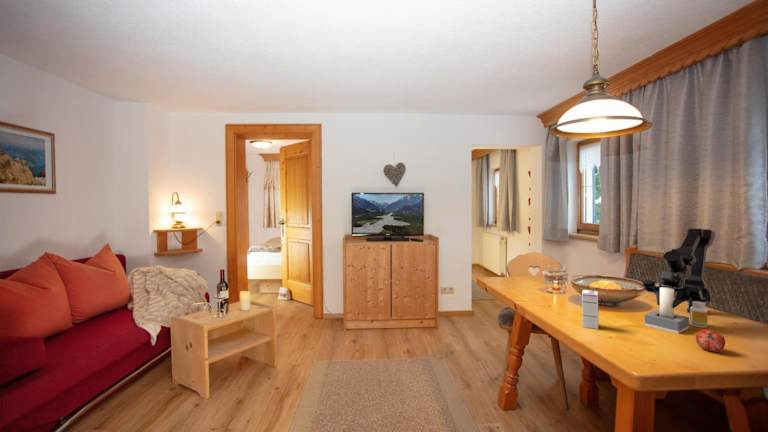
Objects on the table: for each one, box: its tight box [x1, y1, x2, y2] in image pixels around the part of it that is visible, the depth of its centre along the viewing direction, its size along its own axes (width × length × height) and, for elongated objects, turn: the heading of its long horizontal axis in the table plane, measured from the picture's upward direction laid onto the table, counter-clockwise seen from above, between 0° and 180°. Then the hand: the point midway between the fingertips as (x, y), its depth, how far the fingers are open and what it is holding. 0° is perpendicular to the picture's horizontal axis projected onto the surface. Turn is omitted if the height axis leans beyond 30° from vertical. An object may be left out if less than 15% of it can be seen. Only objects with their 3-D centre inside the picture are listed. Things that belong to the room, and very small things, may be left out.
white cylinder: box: [658, 287, 675, 319], centre depth 139 cm, size 5×5×14 cm
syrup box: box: [581, 289, 600, 330], centre depth 140 cm, size 6×6×14 cm
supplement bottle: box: [689, 301, 709, 329], centre depth 140 cm, size 5×5×10 cm
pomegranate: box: [695, 328, 726, 353], centre depth 117 cm, size 7×7×10 cm
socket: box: [644, 309, 690, 334], centre depth 139 cm, size 11×11×4 cm
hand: (665, 305), depth 138 cm, fingers closed on white cylinder, 5 cm apart
